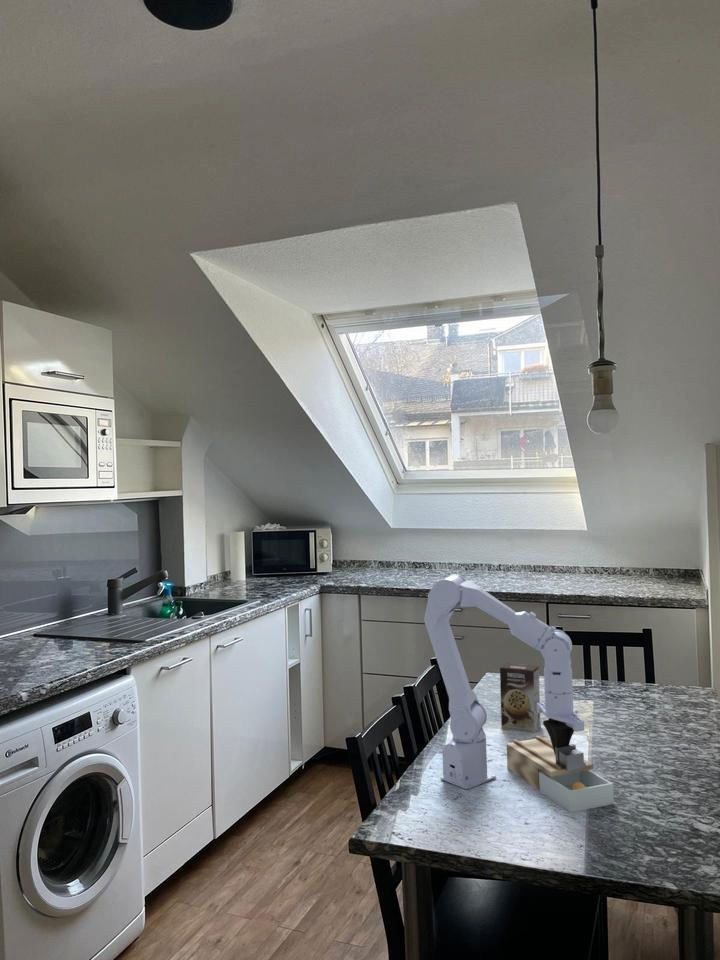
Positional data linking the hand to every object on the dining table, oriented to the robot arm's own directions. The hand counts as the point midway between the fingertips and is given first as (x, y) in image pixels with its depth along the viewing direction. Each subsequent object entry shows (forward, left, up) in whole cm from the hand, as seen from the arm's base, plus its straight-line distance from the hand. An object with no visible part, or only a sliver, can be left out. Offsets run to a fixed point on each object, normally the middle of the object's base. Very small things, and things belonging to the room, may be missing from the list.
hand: (560, 755), depth 156 cm
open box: (-2, -5, -7) cm, 8 cm away
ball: (-2, -6, -5) cm, 8 cm away
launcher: (+2, +6, -7) cm, 9 cm away
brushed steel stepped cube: (-1, -3, -1) cm, 3 cm away
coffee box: (+24, +31, -7) cm, 40 cm away
